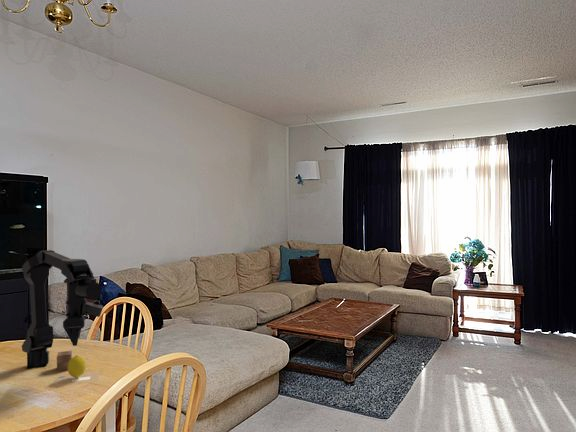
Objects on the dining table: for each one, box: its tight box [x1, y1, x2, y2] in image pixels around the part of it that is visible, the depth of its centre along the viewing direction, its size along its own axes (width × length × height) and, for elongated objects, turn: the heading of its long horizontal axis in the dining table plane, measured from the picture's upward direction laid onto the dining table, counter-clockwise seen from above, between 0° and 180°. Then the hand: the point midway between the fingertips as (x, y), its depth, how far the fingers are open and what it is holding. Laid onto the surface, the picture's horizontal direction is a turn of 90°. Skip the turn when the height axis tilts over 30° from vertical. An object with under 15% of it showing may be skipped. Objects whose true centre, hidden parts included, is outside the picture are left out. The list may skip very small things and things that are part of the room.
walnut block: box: [56, 350, 73, 373], centre depth 158 cm, size 4×4×6 cm
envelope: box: [51, 370, 100, 388], centre depth 148 cm, size 14×10×1 cm
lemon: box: [67, 354, 87, 378], centre depth 148 cm, size 6×6×8 cm
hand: (76, 341), depth 148 cm, fingers open, 9 cm apart
